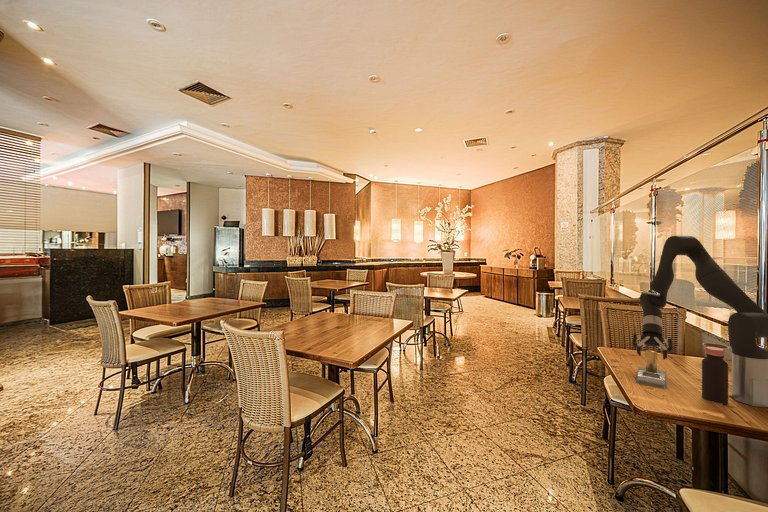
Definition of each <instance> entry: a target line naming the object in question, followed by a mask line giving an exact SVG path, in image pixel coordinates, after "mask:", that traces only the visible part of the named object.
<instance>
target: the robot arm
mask: <svg viewBox="0 0 768 512" xmlns="http://www.w3.org/2000/svg"><path fill="white" fill-rule="evenodd" d="M660 255H661V256H660V259H659V263H658V268H657V271H656V273H655V275H654V277H653V279H652V281H651V283H650V286H649V287H650V289H651V290H652V291H653V292H655V293H653V292H649V291H644V292H642V293H641V294H640V295H639V303H640V306H641V309H642V312H643V318H642V324H641V325H642V327H641V328H642V330H641V334H640V335H638V334H636V333H633V336H632V347H633V348H636V355H638V356H639V357H641V355H642V349H643V347H644V348H645V346H648V347H653V348H656V347H658V348H659V350H661V351H662V360H663V361H665V360H667V359H668V353H673V342H672V338H669V337H668V338H663V337H664V336H663V334H664V331H663V329H664V328H663V327H664V326H663V321H662V320H663V316H662V315H663V312H662V310H661V309H664V308H665V307H666V306H667V301H668V300H667V299H668V292H669V290H670V288H671V285H672V284H673V282H674V278H675V273H674V268H673V263H674V261H675V259H676V257H678V256H686V257H688V258H689V260H691V261H692V262H693V264H694V266H695V271H694V272H695V280H696V281H697V283H698V284H699V285H700V286H701V287H702V288H703V290H704V291H705V292H706V293H708V294H709V295H710V296H712V297H713V298H715V299H717V300H719V301H720V302H723V303H724V304H725V305H727V306H729V307H731V308H732V309H733V310H734V311H736V312H735V313H732V314H731V315H730V316H729V318H728V319H727V320H728V321H727V331H728V332H727V333H728V342H729V343H728V344H729V345H730V346H729V347H730V348H731V397H732V399H733V400H735V401H737V402H739V403H742V404H745V405H750V406H752V407H761V408H768V349H766V348H764V347H761V346H759V345H758V342H757V338H763V339H765V338H768V312H766V311H765V310H764V309H763V308H762V307H761V306H759V304H758V303H756V302H755V301H754V300H753V299H752V298H751V297H750V296H749V295H747V293H745V291H743V289H742V288H740V286H739V285H738V284H736V283H735V281H734V279H732V277H731V276H730V275H729V274H728V273H727V272H726V270H724V269H723V268H722V267H721V266H720V265H719V264H718V263H717V261H716V260H715V259H714V258H712V256H711V254H710V253H709V252H708V251H707V249H706V248H705V247H704V245H703V244H702V243H701V241H700V240H699V239H698V238H697V237H695V236H693V235H670V236H669V237H668V238H667V239H666V240H665V242H664V244H663V248H662V252H661V254H660ZM639 340H641V341H640V342H638V343H637V341H639ZM663 343H666V345H667V346H668V347H666V346H665V345H664V344H663Z"/></svg>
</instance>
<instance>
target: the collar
mask: <svg viewBox="0 0 768 512" xmlns="http://www.w3.org/2000/svg"><path fill="white" fill-rule="evenodd" d="M637 371H638V370H637ZM638 382H643V383H648V384H653V385H658V386H663V387H665V377H664V374H659V373H654V372H648V371H643V370H639V371H638Z"/></svg>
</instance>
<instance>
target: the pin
mask: <svg viewBox="0 0 768 512" xmlns="http://www.w3.org/2000/svg"><path fill="white" fill-rule="evenodd" d="M645 368H646V371H648V372H654V373H657V370H658V351H656V350H654V349H645Z"/></svg>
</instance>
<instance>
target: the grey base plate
mask: <svg viewBox="0 0 768 512" xmlns="http://www.w3.org/2000/svg"><path fill="white" fill-rule="evenodd" d="M639 370H643V371H646V367H642V366H638V367H637V372H636V377H635V382H634V383H635V384H640V385H645V386H650V387H655V388H660V389H663V390H668V387H667V386H668V385H667V382H668V381H667V371H665V370H661V369H660V370H659V369H657V373H659V374H664V377H665V387H663V386H658V385H653V384H648V383H643V382H638V371H639Z"/></svg>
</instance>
